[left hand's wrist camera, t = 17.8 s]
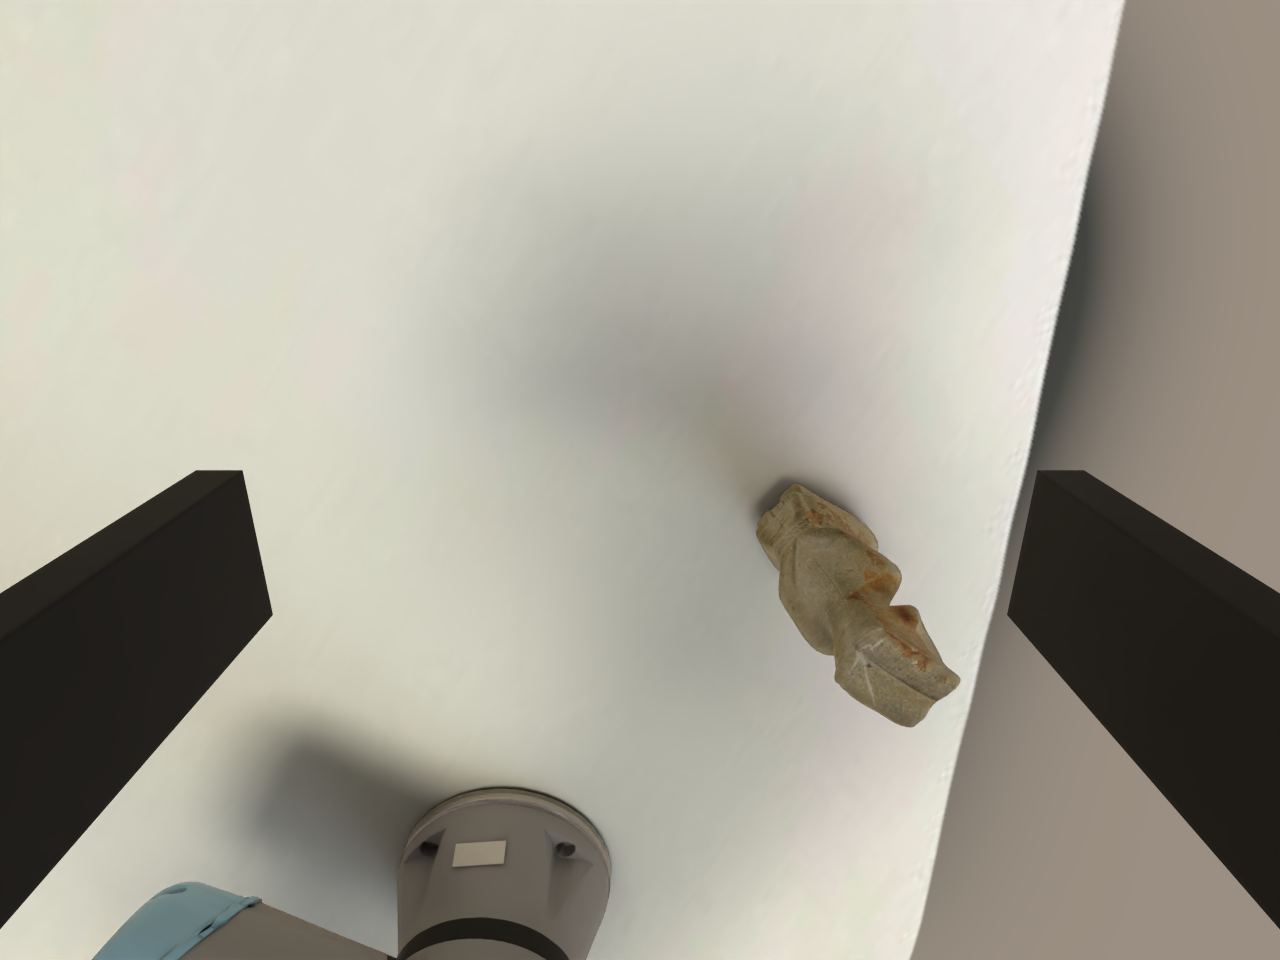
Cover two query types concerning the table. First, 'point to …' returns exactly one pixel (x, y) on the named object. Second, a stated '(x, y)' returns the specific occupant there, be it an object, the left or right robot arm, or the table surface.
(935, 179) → the table surface
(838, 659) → the sculpture
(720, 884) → the table surface
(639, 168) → the table surface
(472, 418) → the table surface
